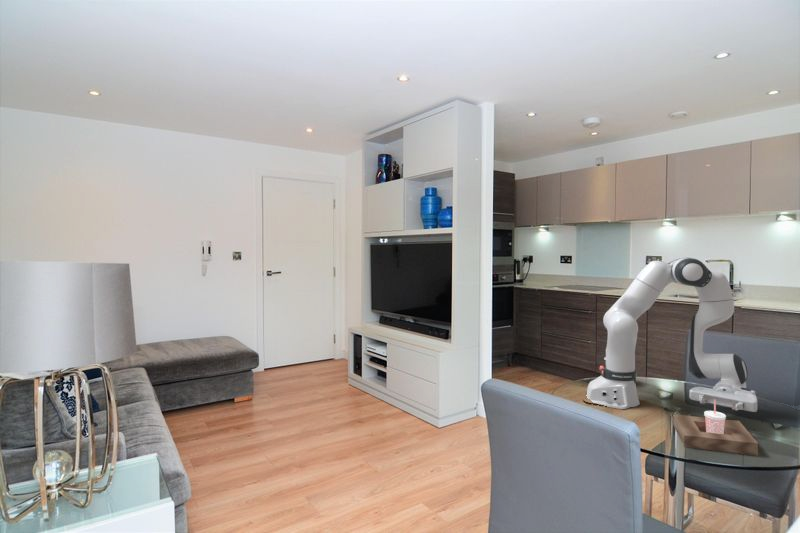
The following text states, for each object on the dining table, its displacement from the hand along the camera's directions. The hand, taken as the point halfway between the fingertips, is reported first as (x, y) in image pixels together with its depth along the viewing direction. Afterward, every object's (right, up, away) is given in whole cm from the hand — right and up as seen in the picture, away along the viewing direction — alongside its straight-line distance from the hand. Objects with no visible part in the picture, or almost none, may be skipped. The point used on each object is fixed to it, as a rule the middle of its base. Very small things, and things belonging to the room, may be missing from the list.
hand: (718, 404), depth 156 cm
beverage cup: (-5, -10, -6) cm, 13 cm away
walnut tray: (-6, -10, -5) cm, 13 cm away
